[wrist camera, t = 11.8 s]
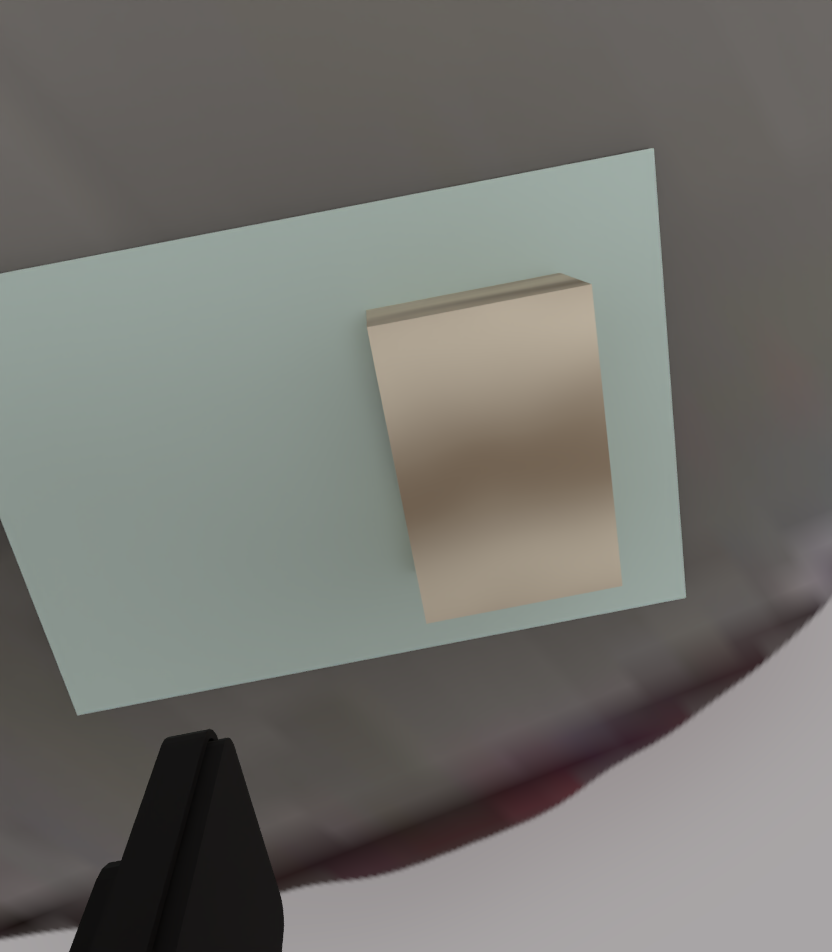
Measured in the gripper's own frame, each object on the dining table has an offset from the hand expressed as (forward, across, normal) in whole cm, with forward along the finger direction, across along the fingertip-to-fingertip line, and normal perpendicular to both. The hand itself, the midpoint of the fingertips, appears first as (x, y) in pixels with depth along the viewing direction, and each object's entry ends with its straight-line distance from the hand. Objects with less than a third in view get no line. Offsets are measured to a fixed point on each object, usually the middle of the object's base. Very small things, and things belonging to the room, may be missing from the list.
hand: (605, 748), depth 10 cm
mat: (+17, +4, +1) cm, 17 cm away
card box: (+16, -1, +1) cm, 16 cm away
